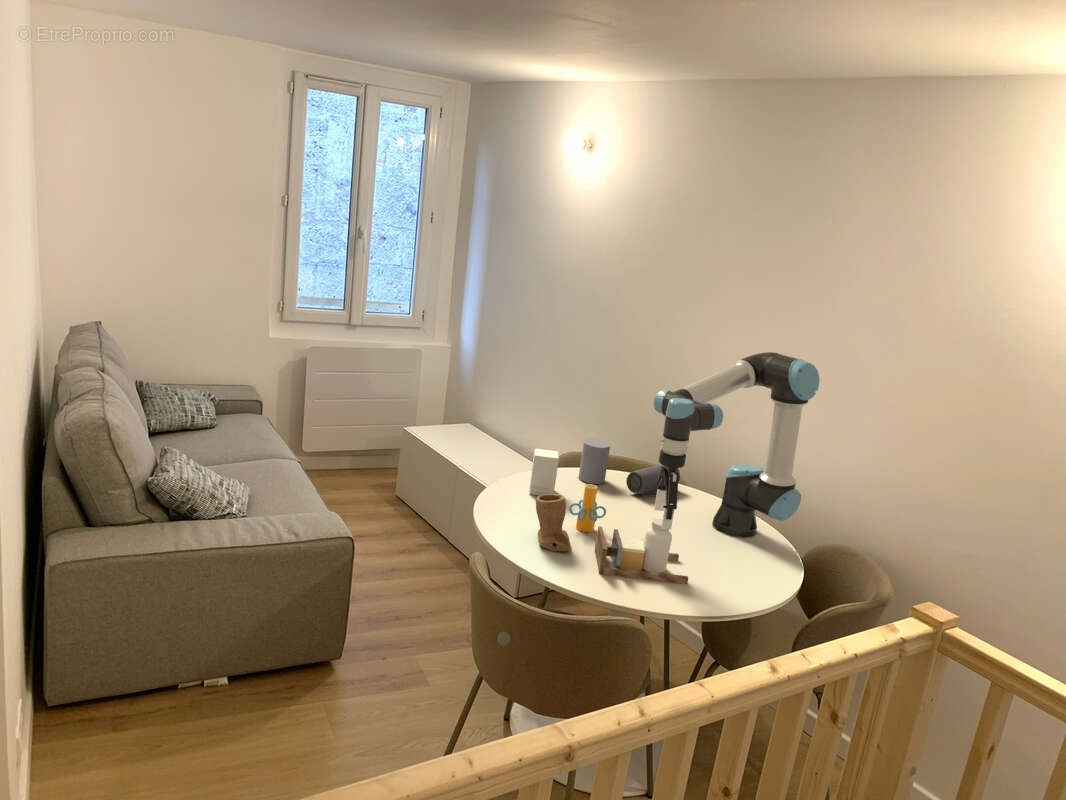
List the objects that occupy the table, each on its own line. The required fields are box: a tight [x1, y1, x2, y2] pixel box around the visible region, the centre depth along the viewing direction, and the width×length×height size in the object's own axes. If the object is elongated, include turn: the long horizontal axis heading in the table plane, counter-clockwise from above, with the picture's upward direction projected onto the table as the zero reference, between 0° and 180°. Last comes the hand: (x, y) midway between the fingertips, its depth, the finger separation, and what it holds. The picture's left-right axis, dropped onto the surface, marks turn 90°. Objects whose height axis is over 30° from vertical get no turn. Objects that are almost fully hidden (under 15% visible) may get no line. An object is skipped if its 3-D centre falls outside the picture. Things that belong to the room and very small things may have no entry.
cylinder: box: [568, 483, 607, 533], centre depth 261 cm, size 12×10×15 cm
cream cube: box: [620, 537, 645, 571], centre depth 239 cm, size 7×7×7 cm
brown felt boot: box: [535, 493, 572, 552], centre depth 247 cm, size 15×12×15 cm
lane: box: [594, 526, 689, 585], centre depth 239 cm, size 26×16×8 cm, turn 90°
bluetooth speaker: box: [625, 464, 681, 495], centre depth 307 cm, size 23×9×10 cm, turn 133°
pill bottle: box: [641, 518, 673, 573], centre depth 239 cm, size 8×8×15 cm
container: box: [578, 438, 611, 485], centre depth 310 cm, size 10×10×15 cm
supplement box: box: [528, 448, 560, 496], centre depth 290 cm, size 9×9×15 cm
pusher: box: [609, 528, 623, 568], centre depth 239 cm, size 1×13×8 cm, turn 0°
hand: (662, 519), depth 237 cm, fingers open, 13 cm apart
